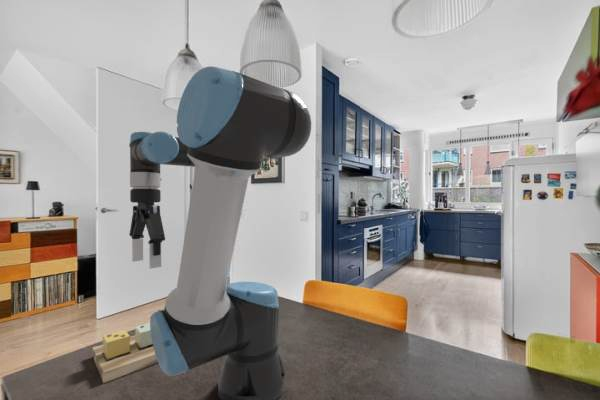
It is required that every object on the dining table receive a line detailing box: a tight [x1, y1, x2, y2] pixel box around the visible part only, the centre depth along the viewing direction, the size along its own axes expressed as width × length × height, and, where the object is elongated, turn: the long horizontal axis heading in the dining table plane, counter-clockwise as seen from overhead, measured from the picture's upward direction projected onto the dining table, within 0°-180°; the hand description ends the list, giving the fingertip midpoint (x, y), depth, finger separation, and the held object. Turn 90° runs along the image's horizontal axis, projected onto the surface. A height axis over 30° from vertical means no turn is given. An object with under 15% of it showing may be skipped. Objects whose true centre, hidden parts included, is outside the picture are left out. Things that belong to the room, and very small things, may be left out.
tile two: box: [134, 322, 153, 348], centre depth 79 cm, size 5×5×4 cm
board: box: [92, 334, 159, 384], centre depth 79 cm, size 15×23×2 cm, turn 134°
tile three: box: [102, 329, 131, 359], centre depth 74 cm, size 5×5×4 cm
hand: (146, 264), depth 80 cm, fingers open, 13 cm apart
